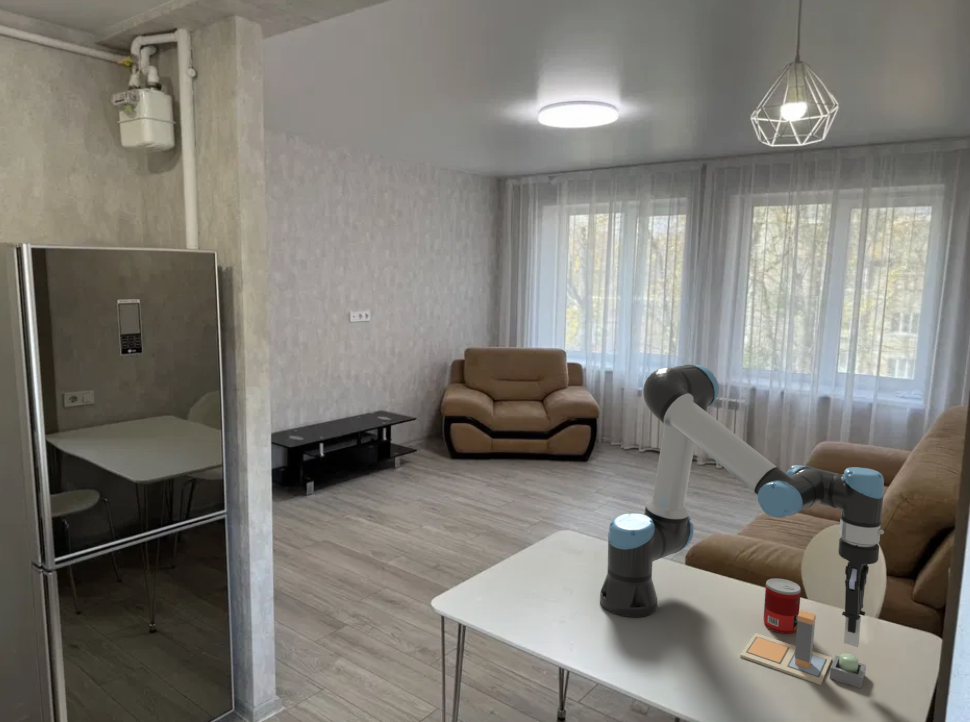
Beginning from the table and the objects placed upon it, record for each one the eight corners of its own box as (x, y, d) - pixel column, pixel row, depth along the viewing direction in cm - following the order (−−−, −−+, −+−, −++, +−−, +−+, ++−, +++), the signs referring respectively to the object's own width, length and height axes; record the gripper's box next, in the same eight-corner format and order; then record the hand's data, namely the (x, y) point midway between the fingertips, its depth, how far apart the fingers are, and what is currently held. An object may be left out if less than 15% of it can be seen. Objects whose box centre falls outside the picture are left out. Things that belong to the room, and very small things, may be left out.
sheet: (740, 656, 153) (740, 654, 153) (755, 635, 162) (755, 632, 162) (820, 685, 142) (821, 681, 142) (831, 659, 152) (831, 657, 152)
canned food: (801, 636, 162) (804, 593, 160) (766, 632, 164) (769, 590, 162) (793, 620, 169) (796, 579, 168) (760, 616, 171) (763, 576, 170)
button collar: (829, 678, 145) (830, 667, 145) (834, 665, 150) (835, 655, 149) (860, 688, 141) (861, 677, 141) (864, 675, 146) (865, 664, 146)
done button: (837, 670, 145) (838, 658, 145) (840, 662, 148) (841, 651, 147) (855, 676, 143) (856, 664, 142) (858, 668, 146) (859, 657, 145)
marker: (794, 664, 149) (797, 615, 147) (797, 658, 151) (800, 610, 150) (809, 669, 147) (812, 620, 145) (812, 662, 149) (815, 614, 148)
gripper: (874, 554, 134) (866, 663, 137) (883, 535, 144) (875, 636, 147) (833, 545, 139) (826, 650, 141) (845, 527, 149) (837, 625, 152)
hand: (851, 643), depth 144 cm, fingers closed
